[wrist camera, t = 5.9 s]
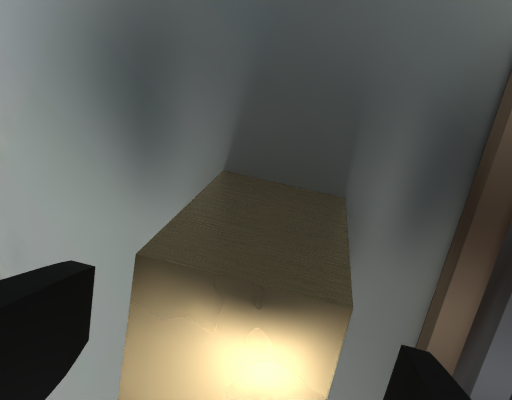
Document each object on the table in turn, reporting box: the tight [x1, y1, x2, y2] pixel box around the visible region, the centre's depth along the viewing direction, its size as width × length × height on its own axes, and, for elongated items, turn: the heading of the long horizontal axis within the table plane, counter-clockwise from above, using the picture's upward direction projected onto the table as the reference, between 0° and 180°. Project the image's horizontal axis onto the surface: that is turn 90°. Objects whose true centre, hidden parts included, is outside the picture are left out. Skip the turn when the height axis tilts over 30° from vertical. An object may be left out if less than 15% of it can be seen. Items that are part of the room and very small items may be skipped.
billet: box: [118, 171, 353, 400], centre depth 12 cm, size 5×4×7 cm
